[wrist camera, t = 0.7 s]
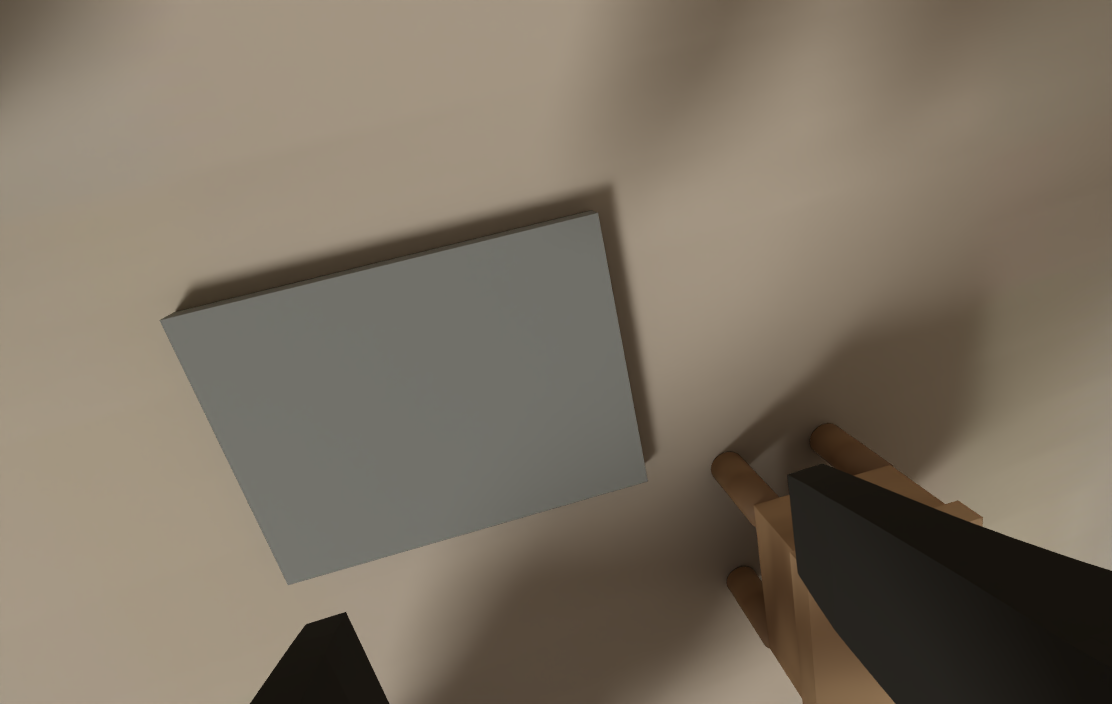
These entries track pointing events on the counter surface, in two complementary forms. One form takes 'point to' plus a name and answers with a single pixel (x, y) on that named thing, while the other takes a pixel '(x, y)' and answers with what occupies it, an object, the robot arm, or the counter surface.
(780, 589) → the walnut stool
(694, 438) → the counter surface
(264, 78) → the counter surface
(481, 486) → the slate mat
